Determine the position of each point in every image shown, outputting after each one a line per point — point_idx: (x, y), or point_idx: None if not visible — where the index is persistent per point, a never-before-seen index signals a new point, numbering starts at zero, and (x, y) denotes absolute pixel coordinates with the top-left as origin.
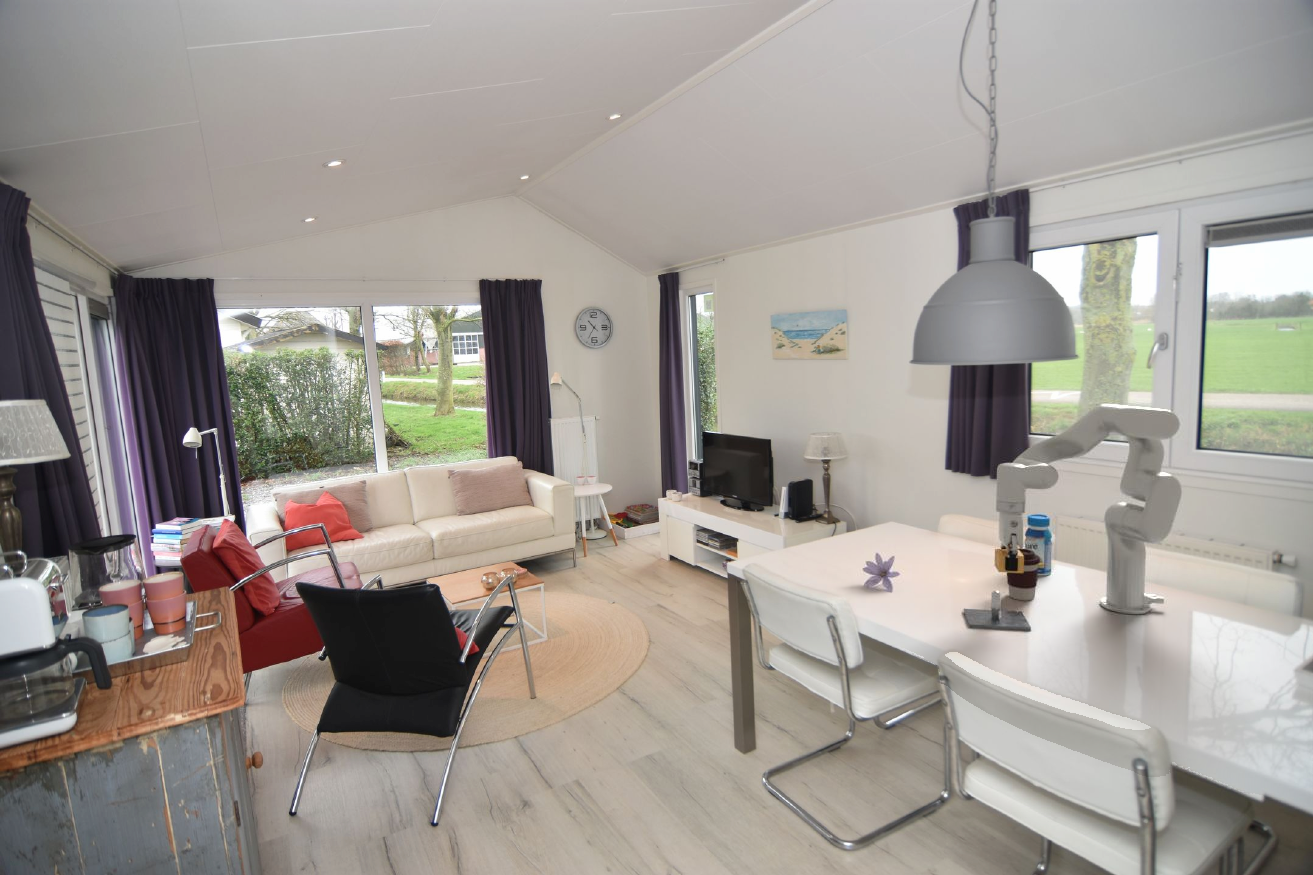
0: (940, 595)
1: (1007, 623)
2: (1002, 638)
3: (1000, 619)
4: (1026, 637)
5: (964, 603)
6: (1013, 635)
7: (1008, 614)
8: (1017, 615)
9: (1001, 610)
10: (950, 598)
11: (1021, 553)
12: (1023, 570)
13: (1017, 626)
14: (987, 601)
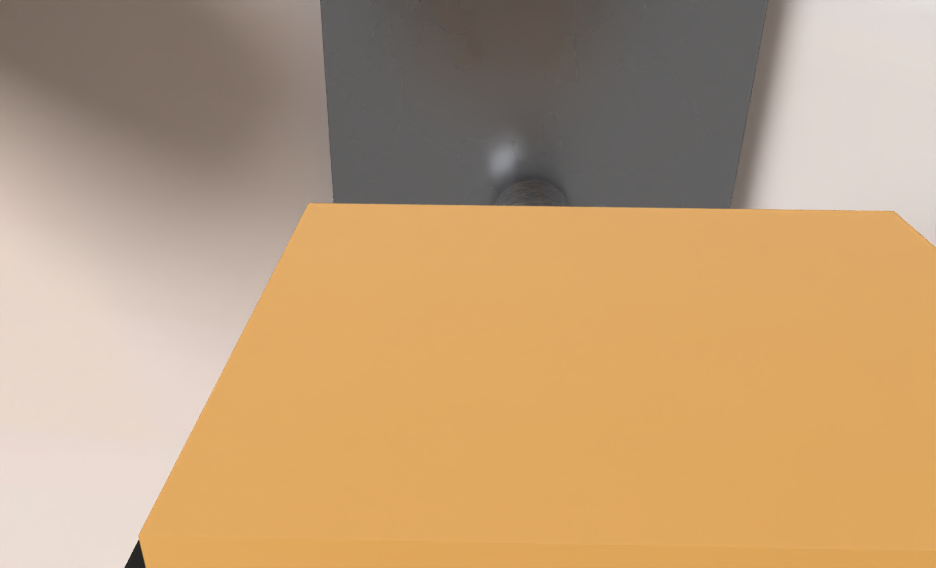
0: (18, 504)
1: (673, 143)
2: (917, 221)
3: (574, 185)
4: (924, 15)
5: (150, 372)
6: (865, 121)
7: (433, 87)
8: (450, 2)
9: (331, 132)
10: (63, 450)
11: (804, 557)
12: (925, 241)
13: (751, 67)
14: (30, 187)
